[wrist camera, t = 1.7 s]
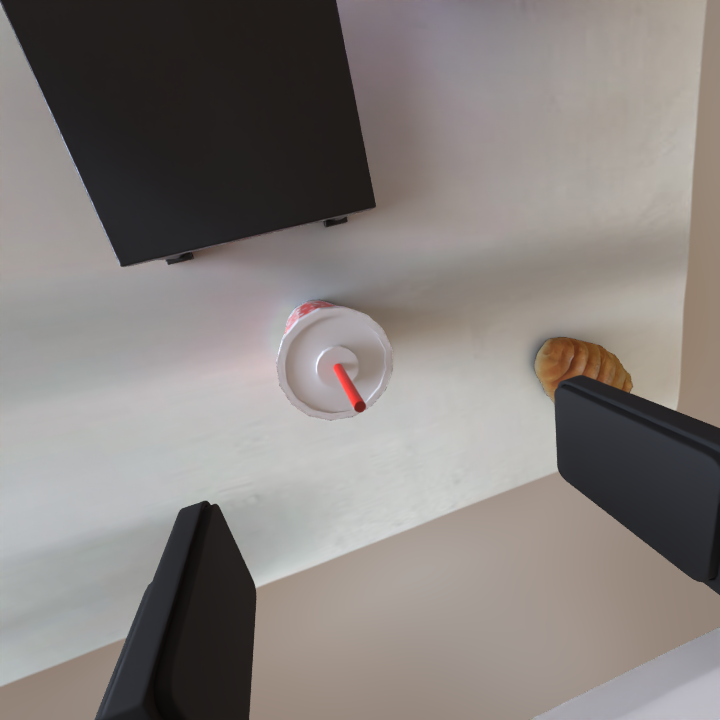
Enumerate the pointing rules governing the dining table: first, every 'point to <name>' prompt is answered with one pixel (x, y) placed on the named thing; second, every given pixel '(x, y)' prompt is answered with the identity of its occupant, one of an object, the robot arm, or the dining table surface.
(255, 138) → the black side table
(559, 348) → the pastry
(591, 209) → the dining table surface
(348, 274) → the dining table surface
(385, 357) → the beverage cup
